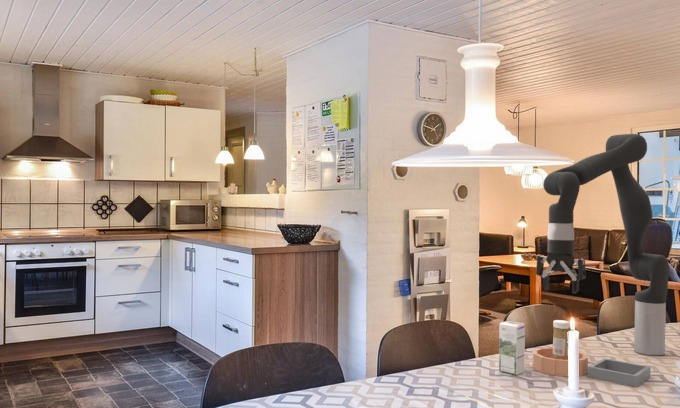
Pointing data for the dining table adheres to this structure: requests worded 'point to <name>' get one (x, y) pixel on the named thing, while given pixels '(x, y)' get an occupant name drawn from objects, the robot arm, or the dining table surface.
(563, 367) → the bowl
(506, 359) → the syrup box
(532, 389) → the dining table surface
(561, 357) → the sprinkles bottle
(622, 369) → the gray square frame
